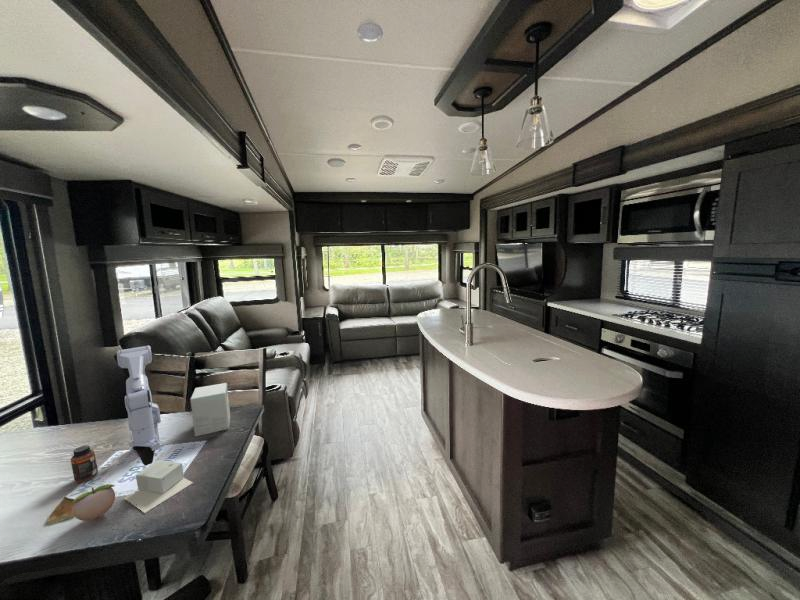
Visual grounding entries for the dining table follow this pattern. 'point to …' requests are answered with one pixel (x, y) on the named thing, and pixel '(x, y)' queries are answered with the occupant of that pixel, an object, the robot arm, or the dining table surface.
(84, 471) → the supplement bottle
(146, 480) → the small box
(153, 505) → the mat
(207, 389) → the supplement box
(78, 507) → the decorative fruit
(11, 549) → the dining table surface
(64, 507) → the tan flat wedge
